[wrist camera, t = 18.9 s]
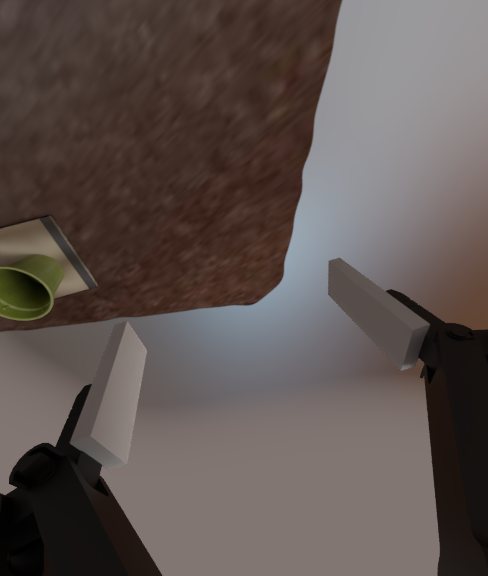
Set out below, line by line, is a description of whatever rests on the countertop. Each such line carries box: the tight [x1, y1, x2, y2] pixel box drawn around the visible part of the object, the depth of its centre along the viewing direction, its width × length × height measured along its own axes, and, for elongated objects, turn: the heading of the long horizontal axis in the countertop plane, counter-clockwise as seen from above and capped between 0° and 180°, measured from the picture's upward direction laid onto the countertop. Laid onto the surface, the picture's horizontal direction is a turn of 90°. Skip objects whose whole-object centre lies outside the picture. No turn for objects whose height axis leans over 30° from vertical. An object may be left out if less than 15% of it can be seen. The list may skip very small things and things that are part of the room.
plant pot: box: [0, 255, 64, 320], centre depth 38 cm, size 9×9×9 cm
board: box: [0, 215, 98, 299], centre depth 41 cm, size 14×12×1 cm
